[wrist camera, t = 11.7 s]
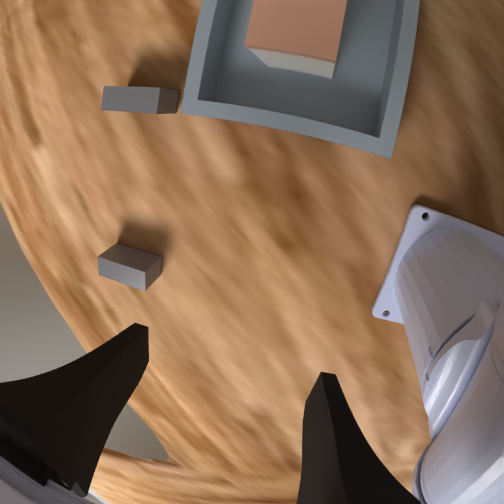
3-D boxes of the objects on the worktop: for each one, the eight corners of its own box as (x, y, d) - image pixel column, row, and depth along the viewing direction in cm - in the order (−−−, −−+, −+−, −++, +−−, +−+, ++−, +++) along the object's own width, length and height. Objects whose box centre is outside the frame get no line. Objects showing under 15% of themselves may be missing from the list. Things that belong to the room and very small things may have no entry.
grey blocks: (179, 90, 17) (160, 87, 15) (161, 274, 23) (145, 291, 20) (126, 87, 17) (104, 86, 15) (117, 260, 23) (98, 274, 21)
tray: (411, -41, 10) (423, -61, 8) (379, 152, 16) (390, 159, 13) (242, -70, 11) (229, -92, 9) (201, 113, 17) (180, 113, 15)
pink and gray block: (350, -25, 12) (357, -72, 7) (331, 79, 15) (336, 60, 10) (288, -35, 12) (274, -83, 7) (268, 66, 15) (244, 45, 10)
